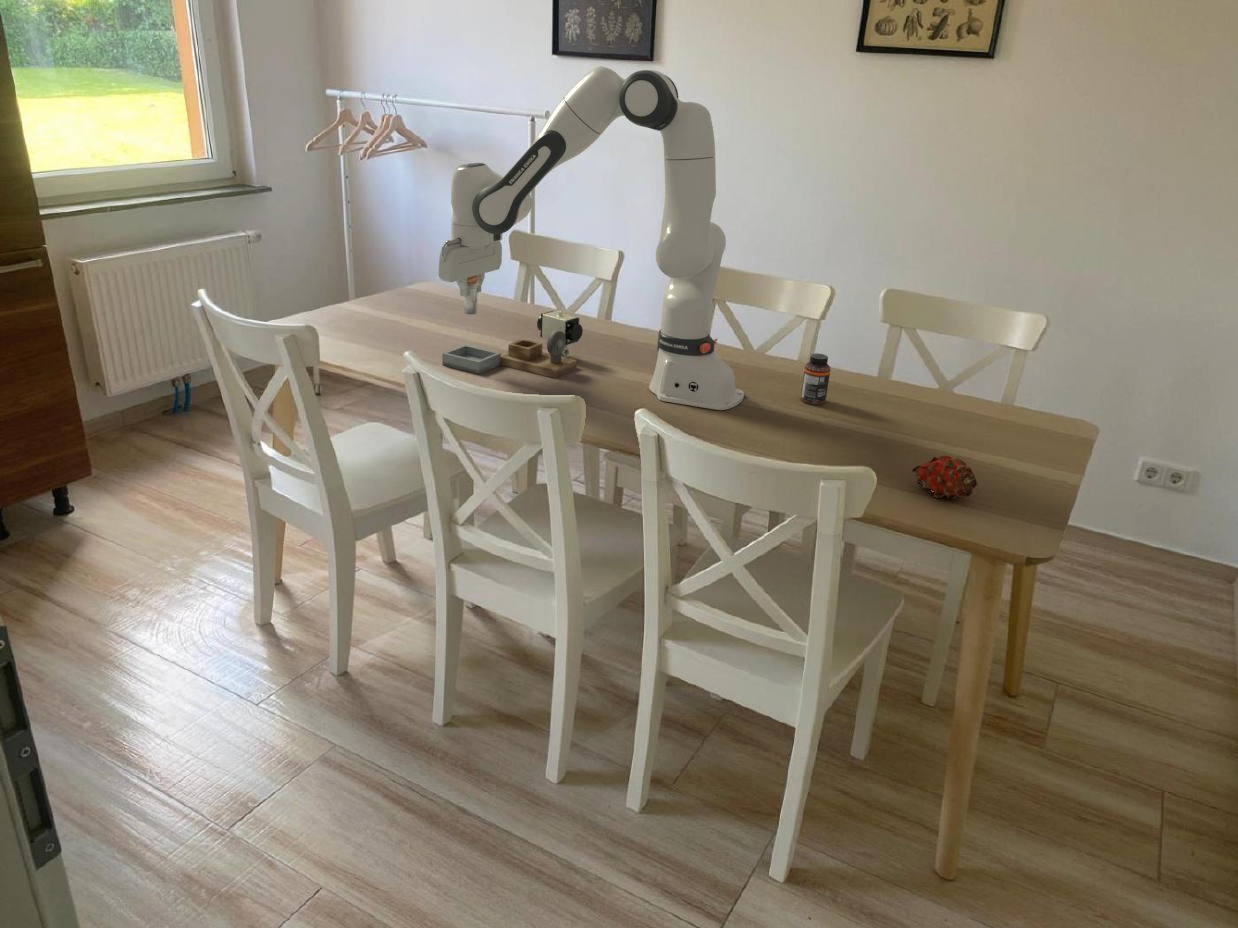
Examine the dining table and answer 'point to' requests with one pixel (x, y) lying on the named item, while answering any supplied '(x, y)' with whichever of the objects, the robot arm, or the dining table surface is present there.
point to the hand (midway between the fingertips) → (470, 294)
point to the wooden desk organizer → (540, 356)
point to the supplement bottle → (815, 380)
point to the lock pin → (471, 296)
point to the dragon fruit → (946, 477)
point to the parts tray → (471, 359)
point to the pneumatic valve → (560, 327)
